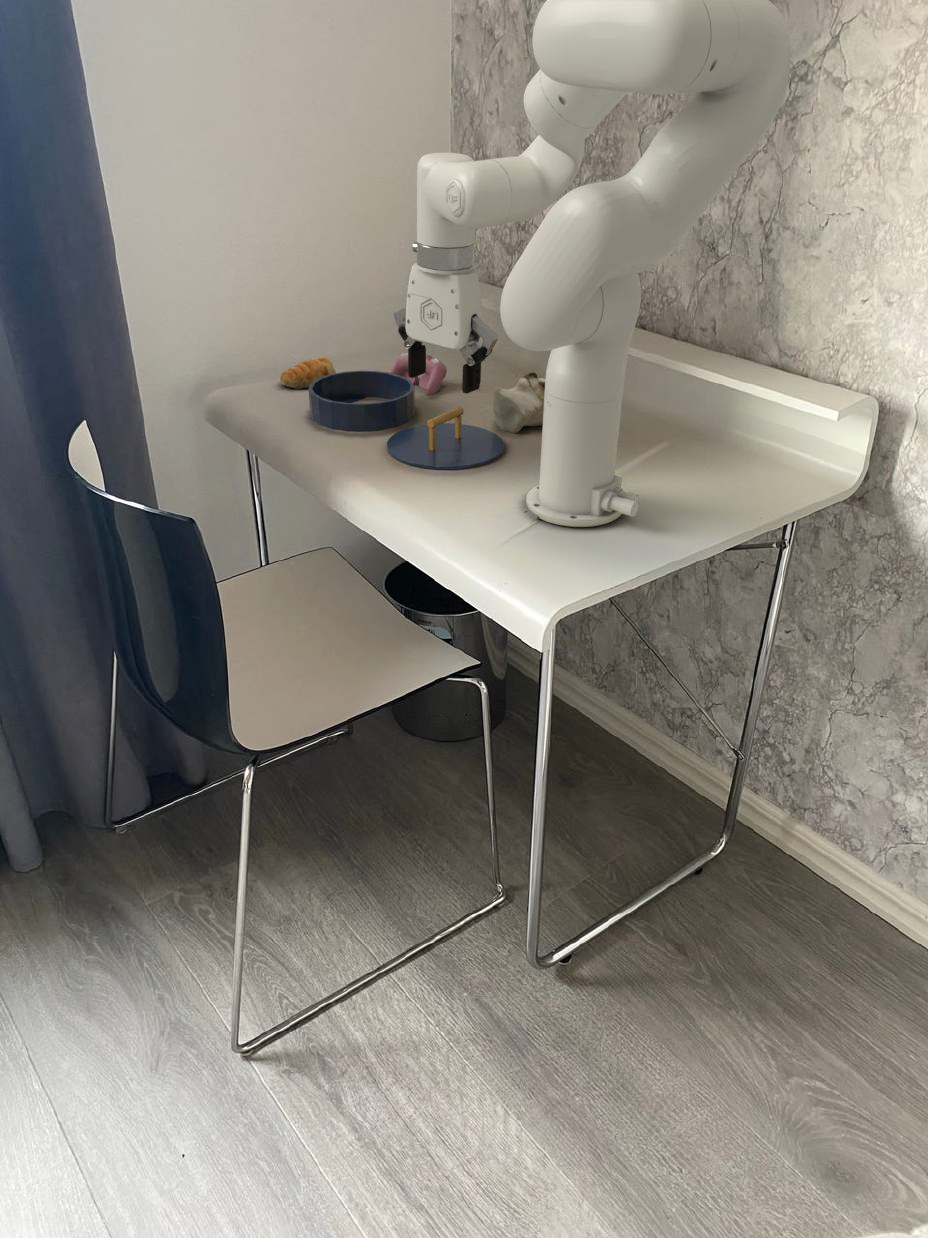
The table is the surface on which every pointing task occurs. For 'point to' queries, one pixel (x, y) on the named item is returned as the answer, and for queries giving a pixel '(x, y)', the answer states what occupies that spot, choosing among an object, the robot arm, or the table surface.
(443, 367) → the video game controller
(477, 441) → the lid
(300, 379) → the pastry
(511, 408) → the ceramic sculpture
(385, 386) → the tin
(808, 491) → the table surface
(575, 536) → the table surface
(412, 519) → the table surface
